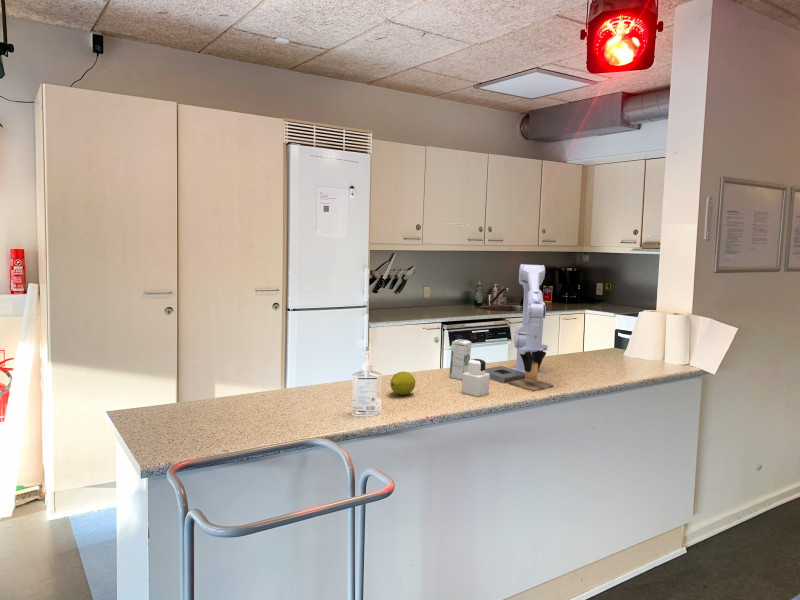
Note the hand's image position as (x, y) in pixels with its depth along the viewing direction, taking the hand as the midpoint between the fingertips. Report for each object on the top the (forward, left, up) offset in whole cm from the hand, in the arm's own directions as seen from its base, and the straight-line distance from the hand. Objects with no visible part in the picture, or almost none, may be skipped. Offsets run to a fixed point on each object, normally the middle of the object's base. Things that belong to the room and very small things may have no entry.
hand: (531, 370), depth 229 cm
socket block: (0, -14, -6) cm, 15 cm away
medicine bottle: (+26, -4, -6) cm, 27 cm away
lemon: (+50, -16, -6) cm, 53 cm away
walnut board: (0, 0, -6) cm, 6 cm away
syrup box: (+16, -22, -6) cm, 28 cm away
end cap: (0, 0, -3) cm, 3 cm away
